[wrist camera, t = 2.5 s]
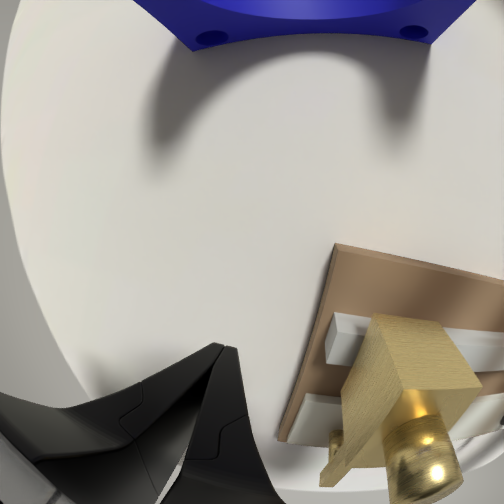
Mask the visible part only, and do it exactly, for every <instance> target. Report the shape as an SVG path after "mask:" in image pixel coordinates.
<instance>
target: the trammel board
mask: <svg viewBox="0 0 504 504" xmlns="http://www.w3.org/2000/svg"><path fill="white" fill-rule="evenodd" d="M373 313H378V314H385V315H392V316H399V317H406V318H413V319H421V320H429V321H437V322H439V323H440V325H441V326H442V327H443V329H444V330H445V331H446V333H447V334H448V335H449V337H450V338H451V340H452V341H453V342H454V344H455V345H456V347H457V348H458V349H459V351H460V352H461V354H462V355H463V357H464V358H465V360H466V361H467V363H468V364H469V366H470V367H471V369H472V370H473V372H474V373H475V375H476V376H477V378H478V380H479V381H480V383H481V384H482V386H483V387H482V389H481V390H480V392H479V393H478V395H477V396H476V398H475V399H474V400H473V402H472V403H471V405H470V406H469V407H468V409H467V410H466V411H465V412H464V414H463V415H462V416H461V418H460V419H459V420H458V421H457V423H456V424H455V425H454V426H453V427H452V429H451V430H450V431H449V432H448V434H449V437H450V439H451V441H457V440H462V439H466V438H471V437H475V436H479V435H483V434H487V433H490V432H494V431H497V430H501V429H504V281H503V280H500V279H496V278H492V277H487V276H483V275H479V274H475V273H471V272H467V271H463V270H458V269H454V268H450V267H445V266H441V265H437V264H432V263H428V262H423V261H419V260H414V259H410V258H405V257H400V256H396V255H391V254H386V253H382V252H377V251H372V250H367V249H362V248H357V247H352V246H347V245H342V244H337V243H335V245H334V250H333V254H332V259H331V263H330V267H329V271H328V276H327V280H326V284H325V288H324V291H323V295H322V299H321V303H320V306H319V310H318V314H317V317H316V321H315V324H314V328H313V331H312V335H311V338H310V341H309V345H308V348H307V351H306V354H305V357H304V360H303V364H302V367H301V370H300V373H299V376H298V379H297V382H296V384H295V387H294V390H293V393H292V396H291V399H290V401H289V404H288V407H287V409H286V412H285V415H284V417H283V420H282V423H281V425H280V428H279V434H278V440H277V441H280V442H287V443H289V444H296V445H304V446H314V447H326V448H329V433H330V432H331V431H333V430H337V429H342V430H343V416H342V403H341V393H340V391H341V389H342V387H343V385H344V383H345V381H346V379H347V376H348V374H349V372H350V370H351V368H352V365H353V363H354V361H355V358H356V356H357V354H358V351H359V349H360V346H361V344H362V341H363V339H364V336H365V334H366V331H367V329H368V326H369V323H370V321H371V318H372V315H373Z"/></svg>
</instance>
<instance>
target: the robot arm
mask: <svg viewBox="0 0 504 504" xmlns="http://www.w3.org/2000/svg"><path fill="white" fill-rule="evenodd" d="M188 444H189V445H188ZM187 446H188V449H187V452H186V455H185V458H184V462H183V465H182V468H181V471H180V473H179V475H178V477H177V478H176V480H175V482H174V483H173V485H172V486H171V488H170V489H169V491H168V492H167V494H166V495H165V497H164V498H163V500H162V501H161V503H160V504H286V503H284V501H283V500H282V499H281V498H280V497H279V496H278V494H277V493H276V491H275V489H274V487H273V485H272V483H271V481H270V479H269V477H268V474H267V472H266V469H265V467H264V465H263V462H262V460H261V457H260V455H259V452H258V449H257V447H256V444H255V441H254V438H253V434H252V429H251V425H250V420H249V416H248V410H247V404H246V398H245V392H244V387H243V381H242V375H241V369H240V362H239V356H238V350H237V348H235V347H231V346H224V345H223V344H219V343H215V342H214V343H211V344H209V345H208V346H206V347H204V348H202V349H200V350H199V351H197V352H195V353H193V354H191V355H190V356H188V357H186V358H184V359H182V360H180V361H179V362H177V363H175V364H173V365H171V366H169V367H167V368H165V369H164V370H162V371H160V372H158V373H156V374H154V375H152V376H150V377H148V378H146V379H144V380H142V381H141V382H138V383H136V384H134V385H132V386H130V387H128V388H125V389H123V390H121V391H119V392H116V393H113V394H111V395H108V396H105V397H102V398H99V399H96V400H93V401H90V402H86V403H83V404H80V405H77V406H73V407H69V408H52V407H48V406H44V405H40V404H36V403H33V402H29V401H26V400H22V399H19V398H15V397H12V396H9V395H7V394H4V393H1V392H0V504H155V502H156V501H157V499H158V496H159V495H160V494H161V492H162V490H163V488H164V487H165V485H166V483H167V481H168V480H169V478H170V476H171V474H172V472H173V471H174V469H175V467H176V465H177V464H178V462H179V460H180V458H181V456H182V455H183V453H184V451H185V449H186V447H187Z"/></svg>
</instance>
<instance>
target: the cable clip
mask: <svg viewBox="0 0 504 504" xmlns="http://www.w3.org/2000/svg"><path fill="white" fill-rule="evenodd" d="M133 1H135V2H136V3H137V4H138V5H140V6H141V7H142V8H143V9H145V10H146V11H147V12H148V13H150V14H151V15H152V16H153V17H154V18H156V19H157V20H158V21H159V22H160V23H161V24H163V25H164V26H165V27H166V28H167V29H168V30H169V31H171V32H172V33H173V34H174V35H175V36H176V37H177V38H178V39H179V40H180V41H182V42H183V43H184V44H185V45H186V46H187V47H188V48H189V49H190V50H191V51H192V52H193V51H197V50H201V49H205V48H209V47H213V46H218V45H222V44H227V43H232V42H238V41H243V40H249V39H256V38H263V37H271V36H281V35H293V34H313V33H345V34H364V35H375V36H385V37H393V38H400V39H406V40H412V41H417V42H422V43H427V44H432V43H433V42H434V41H435V40H436V39H437V38H438V37H439V36H440V35H441V34H442V33H443V32H444V31H445V30H446V29H447V28H448V27H449V26H450V25H451V24H452V23H453V22H454V21H456V20H457V19H458V18H459V17H460V16H461V15H462V14H463V13H464V12H465V11H466V10H467V9H468V8H469V7H470V6H471V5H472V4H473V3H474V2H475V1H476V0H133Z"/></svg>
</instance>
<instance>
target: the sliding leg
mask: <svg viewBox="0 0 504 504" xmlns="http://www.w3.org/2000/svg"><path fill="white" fill-rule="evenodd" d="M482 387H483V386H482V384H481V383H480V381H479V380H478V378H477V376H476V375H475V373H474V372H473V370H472V369H471V367H470V366H469V364H468V363H467V361H466V360H465V358H464V357H463V355H462V354H461V352H460V351H459V349H458V348H457V347H456V345H455V344H454V342H453V341H452V340H451V338H450V337H449V335H448V334H447V333H446V331H445V330H444V329H443V327H442V326H441V325H440V323H439V322H437V321H429V320H421V319H413V318H406V317H399V316H392V315H385V314H378V313H373V315H372V318H371V321H370V323H369V326H368V329H367V331H366V334H365V336H364V339H363V341H362V344H361V346H360V349H359V351H358V354H357V356H356V358H355V361H354V363H353V365H352V368H351V370H350V372H349V374H348V376H347V379H346V381H345V383H344V385H343V387H342V389H341V391H340V393H341V403H342V416H343V430H342V429H337V430H333V431H331V432H330V433H329V463H328V464H327V465H326V466H325V468H324V469H323V470H322V471H321V473H320V483H319V487H334V486H335V485H336V484H337V483H338V482H339V481H340V480H341V479H342V478H343V477H344V476H345V475H346V474H347V473H348V472H349V471H350V469H351V468H376V467H386V472H387V480H388V489H389V498H390V504H432V503H434V502H437V501H439V500H441V499H442V498H444V497H446V496H448V495H449V494H451V493H452V492H454V491H455V490H456V489H457V488H459V487H460V486H461V485H462V483H463V481H464V480H463V477H462V473H461V470H460V466H459V463H458V460H457V457H456V454H455V451H454V448H453V445H452V442H451V439H450V437H449V434H448V432H449V431H450V430H451V429H452V427H453V426H454V425H455V424H456V423H457V421H458V420H459V419H460V418H461V416H462V415H463V414H464V412H465V411H466V410H467V409H468V407H469V406H470V405H471V403H472V402H473V400H474V399H475V398H476V396H477V395H478V393H479V392H480V390H481V389H482Z"/></svg>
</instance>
